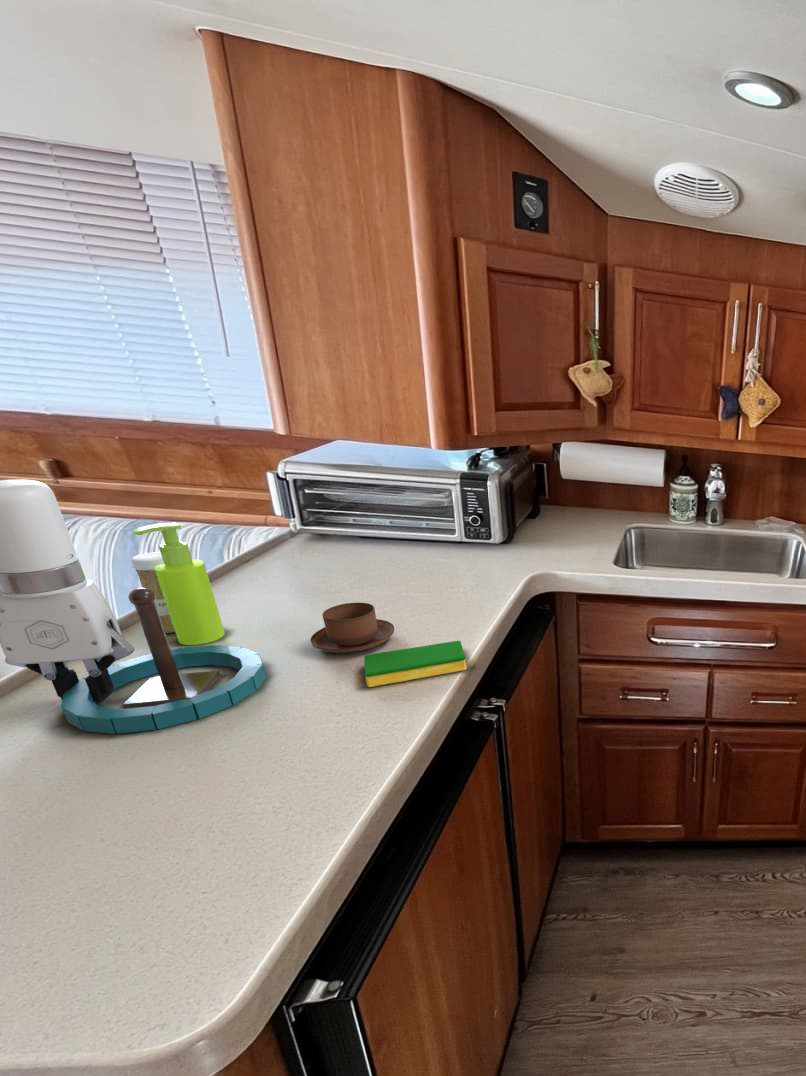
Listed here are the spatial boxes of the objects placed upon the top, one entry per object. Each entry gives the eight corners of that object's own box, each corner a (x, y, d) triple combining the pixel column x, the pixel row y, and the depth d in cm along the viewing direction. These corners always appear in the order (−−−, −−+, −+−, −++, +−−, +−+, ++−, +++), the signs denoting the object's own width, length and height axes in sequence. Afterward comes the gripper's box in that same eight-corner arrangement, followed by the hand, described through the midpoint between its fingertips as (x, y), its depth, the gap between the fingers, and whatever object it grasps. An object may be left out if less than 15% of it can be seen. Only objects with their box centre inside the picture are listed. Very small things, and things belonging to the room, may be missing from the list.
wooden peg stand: (124, 710, 88) (82, 601, 82) (153, 682, 95) (116, 579, 88) (197, 703, 91) (162, 597, 84) (220, 675, 98) (189, 576, 91)
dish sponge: (367, 667, 103) (364, 654, 102) (461, 652, 110) (460, 639, 109) (367, 688, 98) (364, 674, 97) (467, 670, 105) (465, 657, 104)
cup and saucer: (297, 647, 107) (288, 614, 105) (368, 622, 118) (361, 592, 115) (341, 666, 103) (333, 632, 101) (411, 639, 113) (405, 607, 111)
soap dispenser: (165, 639, 106) (126, 524, 99) (218, 626, 112) (185, 517, 104) (176, 650, 103) (137, 533, 96) (230, 637, 109) (197, 525, 101)
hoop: (28, 743, 80) (21, 727, 79) (119, 665, 98) (114, 652, 97) (234, 721, 88) (230, 706, 87) (284, 652, 105) (280, 640, 104)
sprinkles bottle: (176, 634, 108) (152, 560, 103) (148, 633, 108) (122, 558, 102) (199, 623, 112) (176, 551, 107) (172, 622, 112) (148, 550, 107)
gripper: (-72, 591, 76) (-10, 720, 83) (106, 584, 82) (150, 705, 89) (-25, 570, 82) (28, 691, 89) (137, 564, 88) (175, 679, 95)
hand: (88, 697), depth 89 cm, fingers closed on hoop, 2 cm apart
